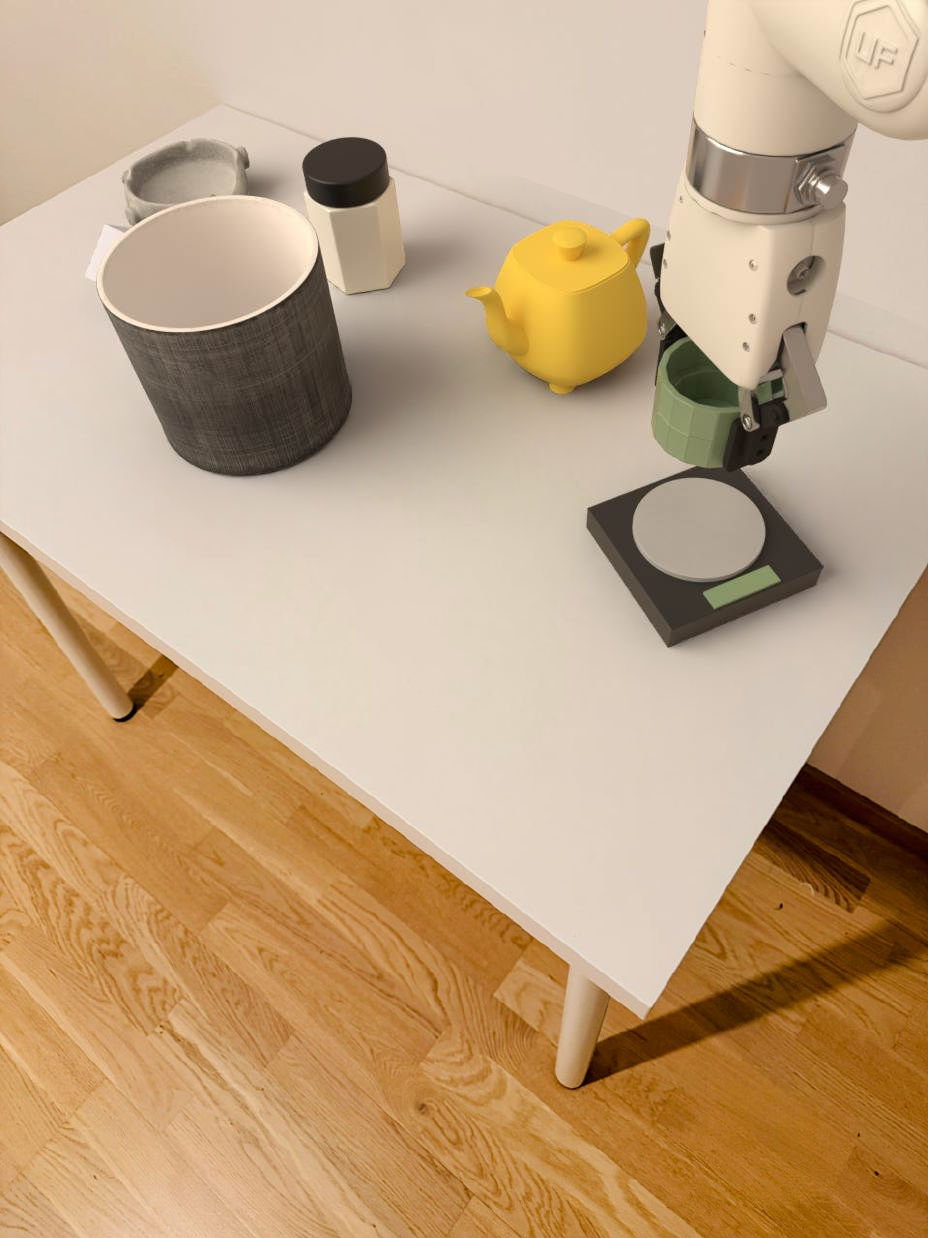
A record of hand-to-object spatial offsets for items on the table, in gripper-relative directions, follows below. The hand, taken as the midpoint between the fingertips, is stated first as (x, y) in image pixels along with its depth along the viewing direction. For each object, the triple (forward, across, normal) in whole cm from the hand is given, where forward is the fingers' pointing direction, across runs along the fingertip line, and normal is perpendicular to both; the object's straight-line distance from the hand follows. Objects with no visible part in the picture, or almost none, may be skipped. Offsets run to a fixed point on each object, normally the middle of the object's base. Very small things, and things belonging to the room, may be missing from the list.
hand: (710, 419), depth 58 cm
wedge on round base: (+16, +54, +29) cm, 63 cm away
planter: (+16, +33, +25) cm, 45 cm away
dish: (+16, +68, +23) cm, 74 cm away
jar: (+16, +48, +9) cm, 52 cm away
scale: (+16, 0, -2) cm, 16 cm away
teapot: (+16, +26, -3) cm, 31 cm away
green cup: (+1, 0, 0) cm, 1 cm away
